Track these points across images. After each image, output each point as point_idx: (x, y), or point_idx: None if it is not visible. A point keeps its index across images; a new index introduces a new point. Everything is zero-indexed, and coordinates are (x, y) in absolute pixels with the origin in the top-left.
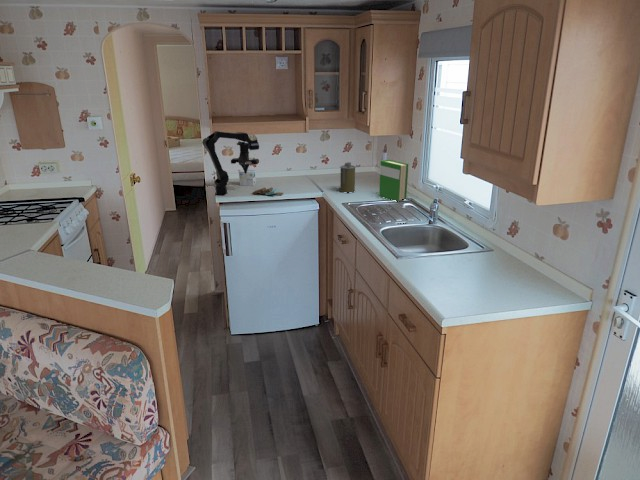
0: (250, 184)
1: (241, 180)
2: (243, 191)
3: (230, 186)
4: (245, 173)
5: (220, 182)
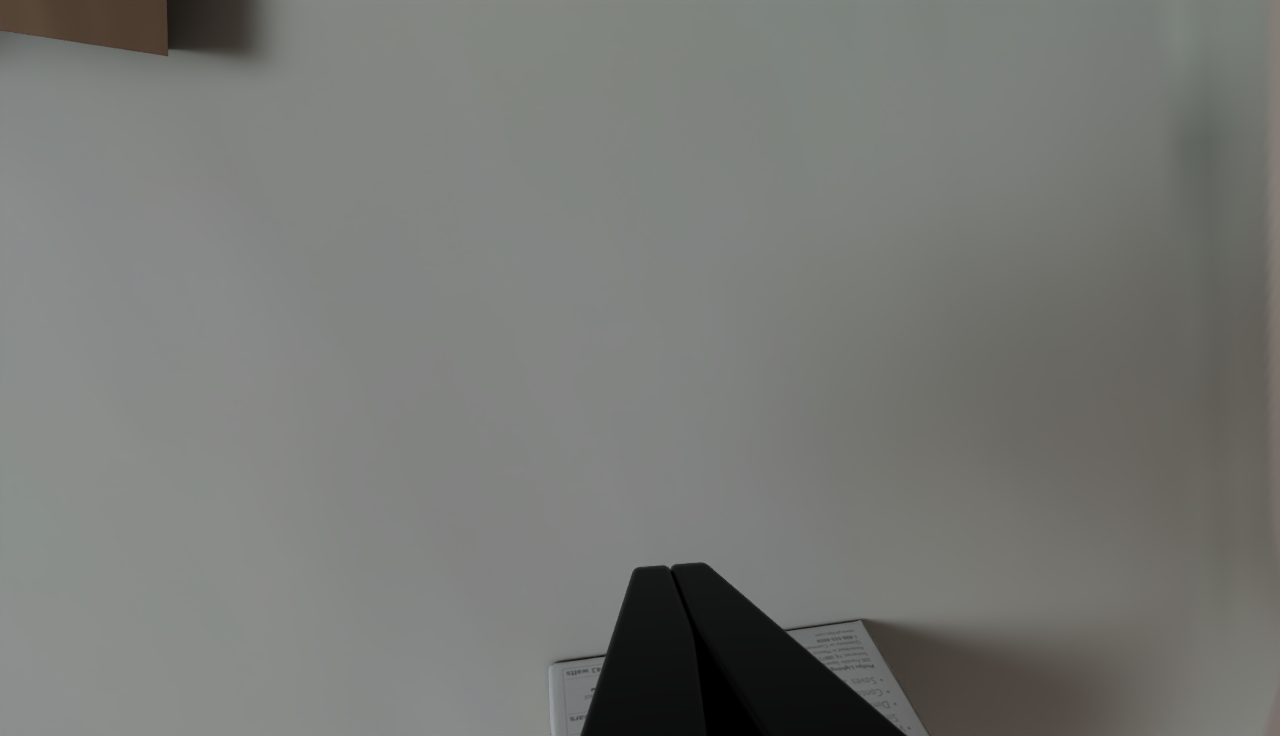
0: None
1: None
2: (635, 128)
3: (1054, 516)
4: (675, 567)
5: None
